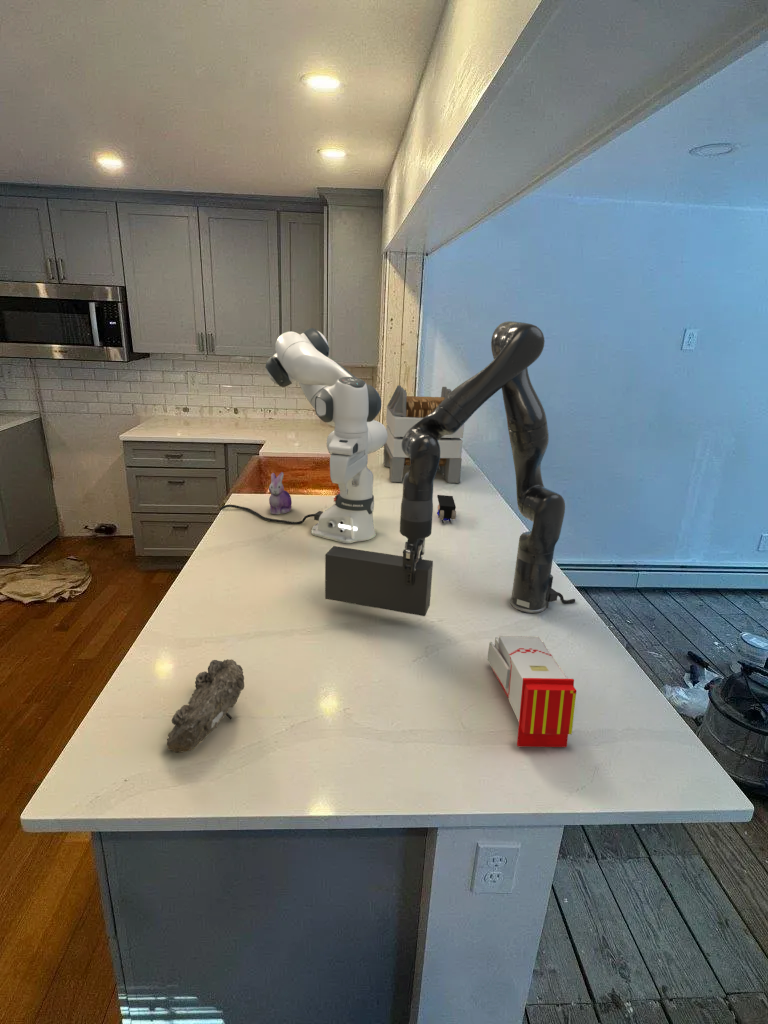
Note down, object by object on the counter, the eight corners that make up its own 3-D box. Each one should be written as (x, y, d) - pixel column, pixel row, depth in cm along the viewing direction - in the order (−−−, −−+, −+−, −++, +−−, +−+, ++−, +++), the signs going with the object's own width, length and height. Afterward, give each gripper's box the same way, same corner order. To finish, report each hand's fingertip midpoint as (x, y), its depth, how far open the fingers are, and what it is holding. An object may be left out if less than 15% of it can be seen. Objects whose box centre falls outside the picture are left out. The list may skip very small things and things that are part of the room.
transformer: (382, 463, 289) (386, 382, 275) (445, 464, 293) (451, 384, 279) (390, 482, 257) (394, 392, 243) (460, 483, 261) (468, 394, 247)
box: (325, 598, 144) (325, 554, 140) (333, 588, 150) (333, 545, 146) (425, 616, 138) (428, 570, 134) (429, 605, 143) (433, 560, 139)
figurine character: (456, 529, 210) (451, 511, 223) (458, 510, 207) (453, 493, 220) (438, 528, 210) (434, 510, 223) (440, 510, 206) (436, 493, 220)
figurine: (272, 516, 210) (271, 477, 205) (264, 508, 219) (263, 470, 213) (296, 513, 214) (296, 475, 209) (287, 505, 223) (287, 468, 218)
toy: (536, 619, 129) (586, 686, 99) (531, 673, 131) (578, 754, 102) (483, 618, 128) (517, 685, 99) (479, 672, 131) (511, 753, 102)
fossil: (192, 660, 117) (244, 628, 112) (224, 691, 120) (276, 661, 115) (142, 746, 98) (202, 712, 93) (182, 779, 101) (242, 748, 96)
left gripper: (352, 432, 160) (351, 479, 164) (325, 447, 141) (325, 500, 146) (373, 434, 158) (372, 482, 163) (349, 450, 139) (348, 503, 144)
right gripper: (425, 527, 126) (421, 595, 132) (437, 507, 139) (433, 569, 145) (393, 523, 128) (390, 589, 133) (408, 503, 141) (404, 565, 147)
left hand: (349, 491), depth 154 cm, fingers open, 8 cm apart
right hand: (412, 579), depth 139 cm, fingers closed on box, 5 cm apart
